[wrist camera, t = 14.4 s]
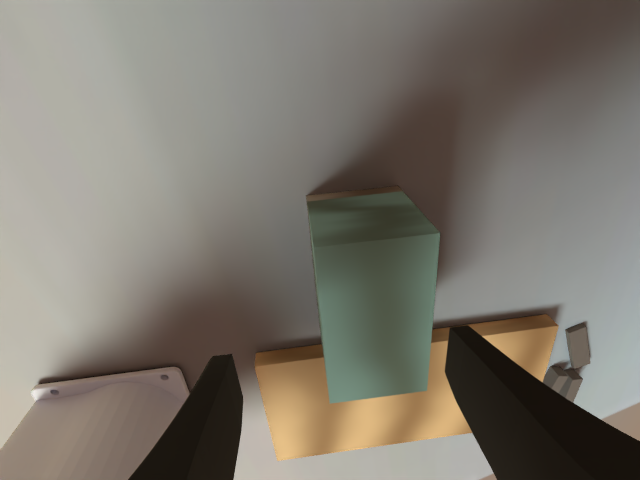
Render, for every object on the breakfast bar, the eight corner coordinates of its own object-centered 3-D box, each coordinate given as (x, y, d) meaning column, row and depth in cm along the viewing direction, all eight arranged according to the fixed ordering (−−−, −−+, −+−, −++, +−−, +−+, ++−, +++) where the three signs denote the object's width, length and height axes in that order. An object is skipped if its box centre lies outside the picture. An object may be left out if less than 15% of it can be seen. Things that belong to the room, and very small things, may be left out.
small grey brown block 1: (590, 363, 26) (582, 355, 27) (586, 327, 25) (577, 319, 25) (574, 369, 27) (567, 360, 27) (568, 333, 25) (561, 325, 26)
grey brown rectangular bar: (536, 412, 28) (546, 412, 28) (558, 376, 26) (568, 376, 26) (527, 399, 29) (536, 399, 29) (547, 363, 27) (557, 364, 27)
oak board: (277, 445, 28) (277, 460, 27) (255, 352, 24) (254, 366, 22) (521, 410, 29) (530, 424, 28) (546, 314, 24) (558, 325, 23)
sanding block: (319, 324, 23) (329, 403, 18) (306, 195, 19) (313, 247, 14) (394, 315, 23) (426, 390, 18) (397, 185, 19) (440, 233, 14)
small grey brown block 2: (558, 415, 28) (567, 414, 28) (572, 380, 26) (582, 378, 26) (548, 403, 29) (557, 401, 29) (561, 367, 27) (571, 366, 27)
